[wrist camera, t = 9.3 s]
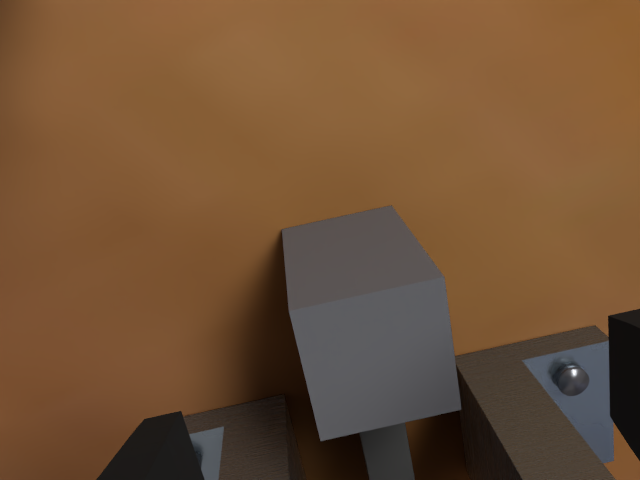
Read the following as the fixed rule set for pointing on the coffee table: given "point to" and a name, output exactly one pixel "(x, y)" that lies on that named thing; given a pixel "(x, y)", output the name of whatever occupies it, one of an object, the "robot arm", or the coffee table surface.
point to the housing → (476, 417)
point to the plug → (370, 332)
